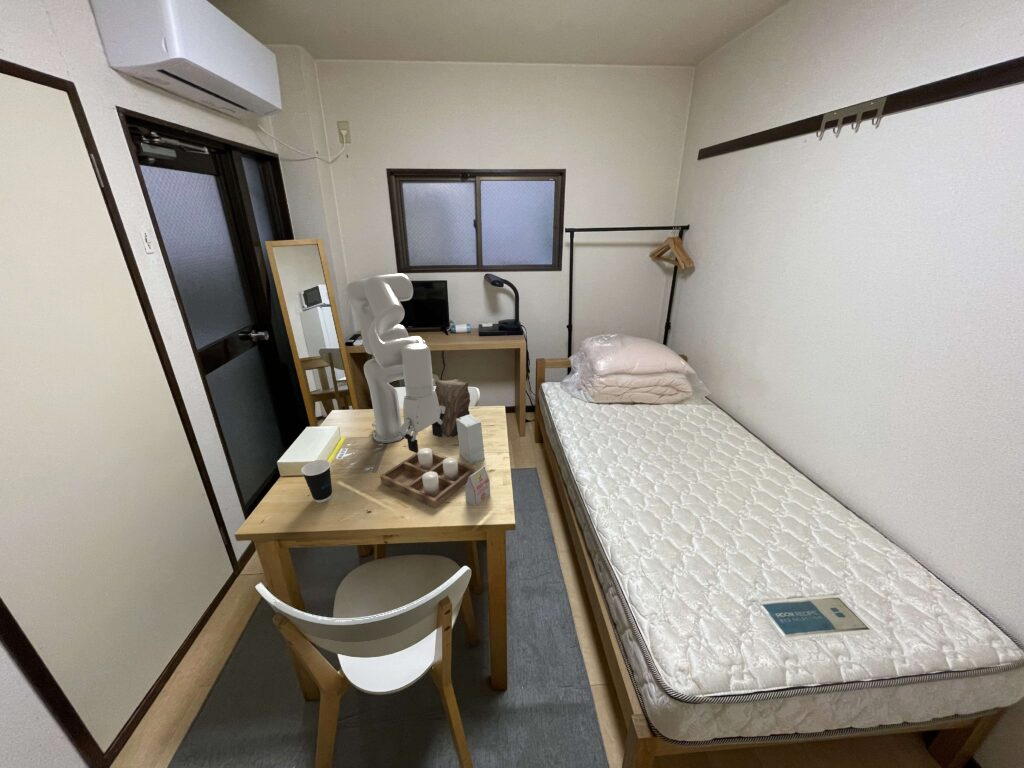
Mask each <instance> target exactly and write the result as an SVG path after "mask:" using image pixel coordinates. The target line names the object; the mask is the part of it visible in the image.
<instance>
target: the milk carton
mask: <svg viewBox="0 0 1024 768" xmlns="http://www.w3.org/2000/svg"><path fill="white" fill-rule="evenodd" d="M490 482H491V481H490V478H489V475H488V473H487V470H486V466H484V465H483V466H481V468H479V469H478V470H476V472H475V473H474V474H472V475H471V476H469V477H468V481H467V483H466V484H465V485H464V491H465V494H464V495H465V502H466V503H469V504H471V505H473V507H476V506H477V505H479V504H480V503H481V502H483V500H485V499H486V498H488V497H489V496H490V495H491V483H490Z"/></svg>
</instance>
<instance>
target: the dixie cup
mask: <svg viewBox="0 0 1024 768" xmlns="http://www.w3.org/2000/svg"><path fill="white" fill-rule="evenodd" d="M300 473H301V474H302V475H303V477H304V480H305V482H306V484H307V487H308V489H309V491H310V494H311V496H312V498H313V500H314V501H315V502H316V503H324V502H326V501H329V500H331V498H332V496H333V495H332V494H333V486H332V478H331V477H332V476H331V462H330V461H329V460H327V459H315V460H313V461H310V462H307V463H305V465H303V466H302V467H301V470H300Z"/></svg>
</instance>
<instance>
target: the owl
mask: <svg viewBox="0 0 1024 768" xmlns="http://www.w3.org/2000/svg"><path fill="white" fill-rule="evenodd" d="M434 381H435V383H434V384H435V385H436V386H435V388H434V390H435V392H436V395H437V398H438V403H439V405H441V406H445V407H446V408H445V412H444V417H443V420H442V421H443V423H442V424H441V428H442V435H444V436H446V437H447V438H450V437H451V438H454V437H456V436H458V431H457V423H456V419H457V418H460V417H463V416H466V415H469V414H471V413H470V410H469V407H470V403H471V394H470V393H471V392H469V382H468V381H465V382H464V381H462V380H460V379H457V378H454V379H448V380H443V379H441V380H434Z"/></svg>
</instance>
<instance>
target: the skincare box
mask: <svg viewBox="0 0 1024 768" xmlns="http://www.w3.org/2000/svg"><path fill="white" fill-rule="evenodd" d="M456 423H457V431H458V435H457V437H458V446H459V455H461V456H462V457H463V459H465V460H466V461H467V462H468V463H469V464H473V463H476V462H480V461H482V460H484V459H485V457H486V456H485V450H484V441H483V440H484V438H483V437H484V436H483V430H482V429H483V428H482V421H480V420H479V419H478V418H477V417H475V416H473V415H472V414H471V413H470V414H469V415H466V416H463V417H460V418H457V419H456Z"/></svg>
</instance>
